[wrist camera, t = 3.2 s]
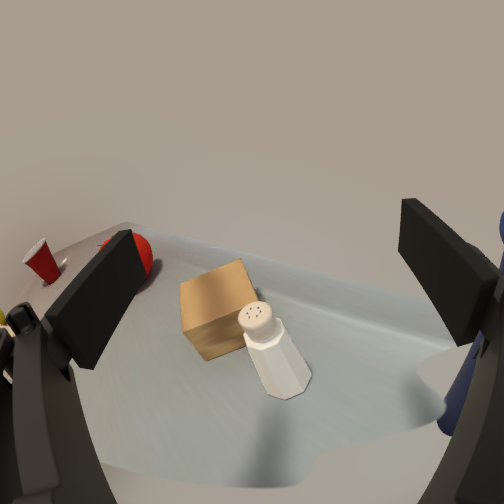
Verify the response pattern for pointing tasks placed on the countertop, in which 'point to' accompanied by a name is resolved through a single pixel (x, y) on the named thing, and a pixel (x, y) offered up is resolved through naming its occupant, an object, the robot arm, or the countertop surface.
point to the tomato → (141, 251)
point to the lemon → (2, 318)
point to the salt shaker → (273, 352)
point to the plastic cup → (42, 262)
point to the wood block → (216, 309)
